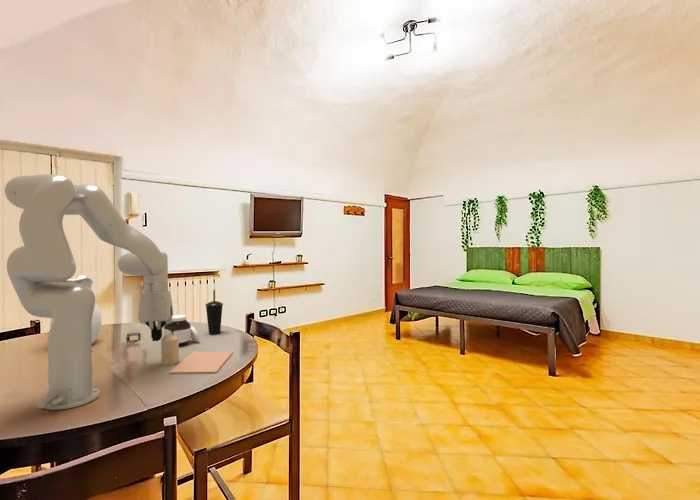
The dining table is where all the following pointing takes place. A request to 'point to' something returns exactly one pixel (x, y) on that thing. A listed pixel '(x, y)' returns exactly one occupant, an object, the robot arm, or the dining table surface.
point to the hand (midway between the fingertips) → (156, 340)
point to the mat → (202, 363)
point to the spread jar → (181, 330)
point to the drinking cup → (214, 316)
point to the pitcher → (96, 314)
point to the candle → (170, 349)
